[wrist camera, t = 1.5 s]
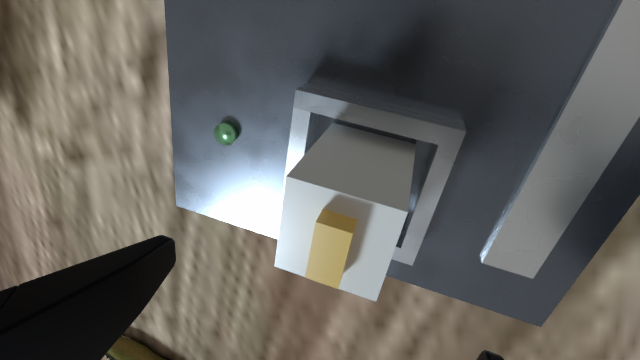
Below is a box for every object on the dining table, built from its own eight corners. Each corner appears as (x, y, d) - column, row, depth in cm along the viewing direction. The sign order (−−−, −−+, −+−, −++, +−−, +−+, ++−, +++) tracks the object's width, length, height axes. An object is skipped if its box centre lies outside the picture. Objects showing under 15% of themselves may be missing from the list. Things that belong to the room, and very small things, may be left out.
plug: (416, 144, 15) (406, 226, 10) (392, 215, 17) (372, 318, 12) (332, 122, 16) (276, 187, 10) (319, 193, 18) (265, 280, 12)
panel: (1094, -474, 7) (1394, -692, 5) (535, 312, 19) (549, 351, 16) (160, -432, 11) (92, -542, 9) (186, 198, 22) (160, 217, 20)
